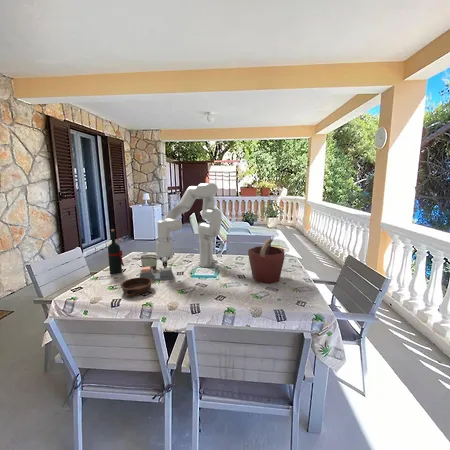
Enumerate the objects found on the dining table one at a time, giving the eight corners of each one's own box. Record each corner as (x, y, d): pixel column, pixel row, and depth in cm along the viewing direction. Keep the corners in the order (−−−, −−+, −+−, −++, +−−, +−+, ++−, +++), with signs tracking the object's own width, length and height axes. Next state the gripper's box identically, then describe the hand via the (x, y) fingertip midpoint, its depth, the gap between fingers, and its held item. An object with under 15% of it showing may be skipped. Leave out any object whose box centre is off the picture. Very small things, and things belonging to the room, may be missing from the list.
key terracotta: (150, 270, 168) (150, 266, 168) (150, 273, 164) (150, 268, 163) (142, 271, 167) (142, 267, 167) (142, 274, 162) (142, 269, 162)
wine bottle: (121, 274, 173) (117, 230, 168) (107, 274, 174) (103, 230, 169) (127, 270, 181) (124, 228, 175) (113, 270, 182) (110, 228, 177)
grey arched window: (160, 267, 186) (160, 254, 185) (157, 270, 180) (157, 256, 179) (144, 267, 188) (143, 254, 186) (140, 270, 182) (140, 256, 180)
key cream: (169, 269, 172) (169, 265, 171) (169, 272, 167) (169, 267, 166) (161, 270, 170) (161, 266, 170) (161, 273, 166) (161, 268, 165)
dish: (157, 283, 159) (156, 275, 158) (146, 299, 137) (146, 290, 136) (129, 283, 159) (128, 275, 158) (114, 299, 137) (113, 290, 136)
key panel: (172, 273, 175) (172, 266, 174) (173, 278, 166) (173, 270, 165) (139, 276, 170) (139, 269, 169) (139, 281, 160) (138, 274, 159)
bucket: (260, 270, 180) (261, 234, 176) (291, 276, 167) (292, 238, 163) (242, 281, 160) (242, 241, 156) (275, 289, 148) (276, 247, 143)
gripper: (175, 237, 171) (176, 264, 174) (151, 239, 167) (153, 266, 170) (176, 240, 163) (177, 267, 166) (151, 241, 160) (153, 270, 162)
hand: (165, 267), depth 168 cm, fingers closed
